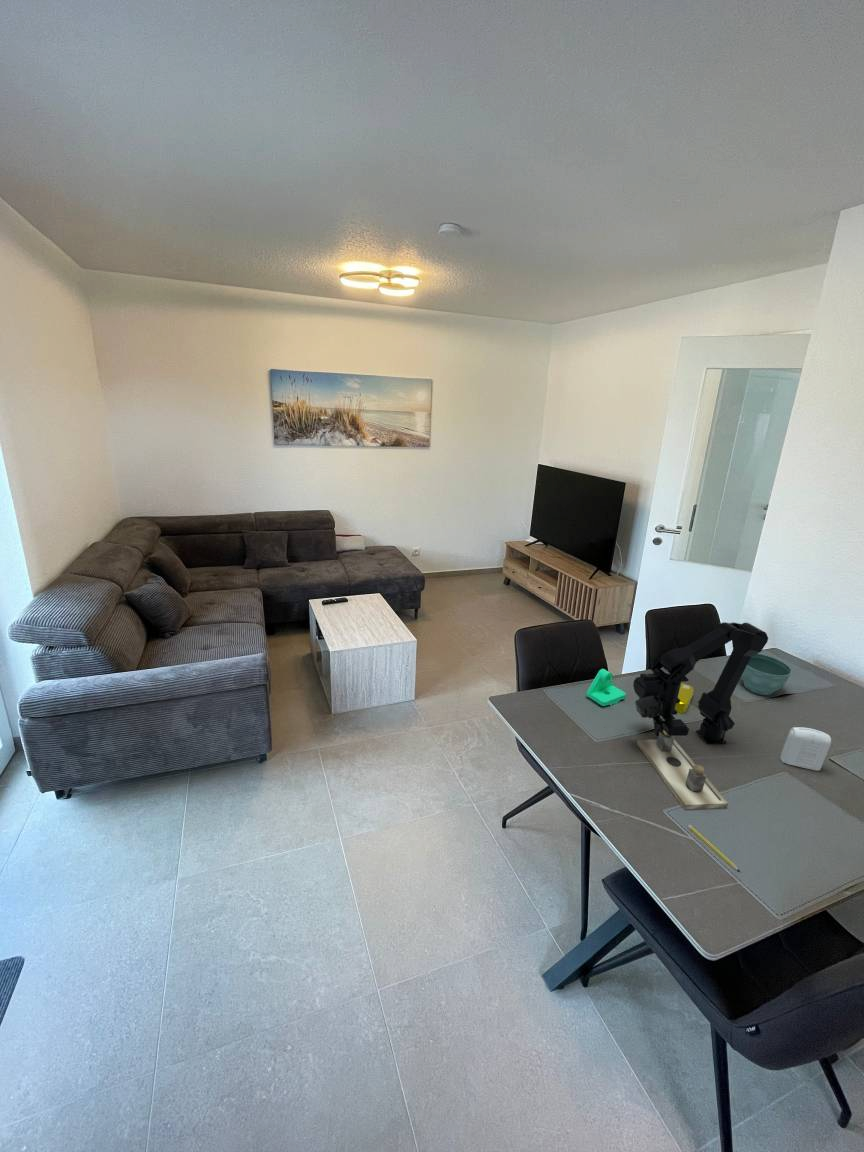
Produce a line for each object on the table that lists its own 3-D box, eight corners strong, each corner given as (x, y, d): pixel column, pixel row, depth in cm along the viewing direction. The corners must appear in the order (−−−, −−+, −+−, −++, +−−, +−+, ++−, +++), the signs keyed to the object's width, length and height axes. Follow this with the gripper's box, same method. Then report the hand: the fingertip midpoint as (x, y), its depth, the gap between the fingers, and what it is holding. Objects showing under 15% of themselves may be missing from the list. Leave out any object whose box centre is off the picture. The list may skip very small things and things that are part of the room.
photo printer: (816, 763, 150) (829, 729, 146) (822, 773, 147) (836, 738, 142) (777, 755, 153) (789, 721, 149) (782, 764, 149) (794, 730, 145)
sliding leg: (665, 744, 153) (670, 726, 150) (671, 751, 150) (675, 733, 148) (656, 744, 152) (660, 727, 150) (661, 751, 150) (666, 733, 147)
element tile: (639, 699, 179) (641, 688, 178) (649, 682, 191) (652, 671, 189) (684, 715, 171) (687, 703, 170) (692, 696, 183) (695, 685, 181)
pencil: (738, 874, 114) (739, 871, 113) (686, 828, 126) (687, 825, 125) (741, 873, 114) (742, 870, 114) (689, 826, 126) (690, 823, 126)
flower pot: (793, 702, 181) (802, 676, 178) (749, 700, 181) (757, 674, 178) (766, 678, 197) (773, 654, 193) (725, 676, 197) (732, 652, 193)
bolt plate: (673, 742, 157) (678, 721, 154) (726, 807, 132) (734, 783, 129) (636, 744, 155) (641, 722, 152) (684, 809, 131) (691, 785, 128)
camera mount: (602, 709, 172) (607, 683, 169) (585, 698, 178) (590, 673, 175) (625, 700, 178) (630, 675, 175) (608, 689, 184) (613, 665, 181)
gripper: (627, 676, 157) (619, 717, 163) (658, 711, 140) (647, 757, 145) (661, 675, 158) (651, 717, 164) (695, 711, 141) (683, 756, 146)
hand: (657, 735), depth 155 cm, fingers closed
